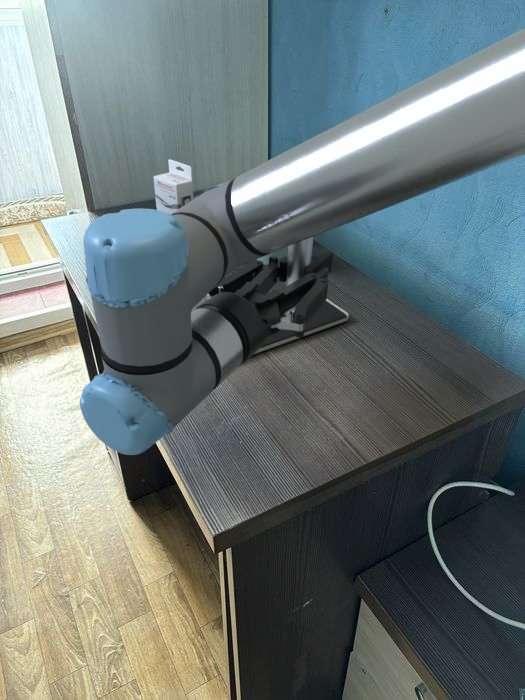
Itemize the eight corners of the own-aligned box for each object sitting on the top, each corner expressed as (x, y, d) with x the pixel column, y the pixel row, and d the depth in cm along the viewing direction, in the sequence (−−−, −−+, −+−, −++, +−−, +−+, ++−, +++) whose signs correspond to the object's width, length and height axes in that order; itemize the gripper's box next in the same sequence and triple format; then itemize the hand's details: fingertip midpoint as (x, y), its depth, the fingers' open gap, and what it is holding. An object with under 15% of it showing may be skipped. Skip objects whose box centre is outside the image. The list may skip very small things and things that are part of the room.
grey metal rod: (310, 318, 70) (318, 227, 63) (297, 328, 68) (305, 235, 61) (292, 311, 72) (298, 221, 64) (279, 320, 70) (284, 228, 62)
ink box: (157, 225, 125) (150, 162, 116) (173, 219, 128) (168, 158, 119) (179, 235, 120) (175, 170, 112) (196, 229, 123) (192, 166, 115)
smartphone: (177, 329, 88) (176, 321, 87) (304, 290, 100) (305, 282, 99) (215, 371, 79) (214, 361, 78) (350, 322, 91) (351, 313, 90)
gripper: (159, 344, 59) (265, 267, 75) (281, 394, 52) (369, 298, 69) (152, 286, 54) (267, 218, 71) (285, 332, 48) (378, 245, 64)
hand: (317, 257), depth 70 cm, fingers closed on grey metal rod, 3 cm apart
